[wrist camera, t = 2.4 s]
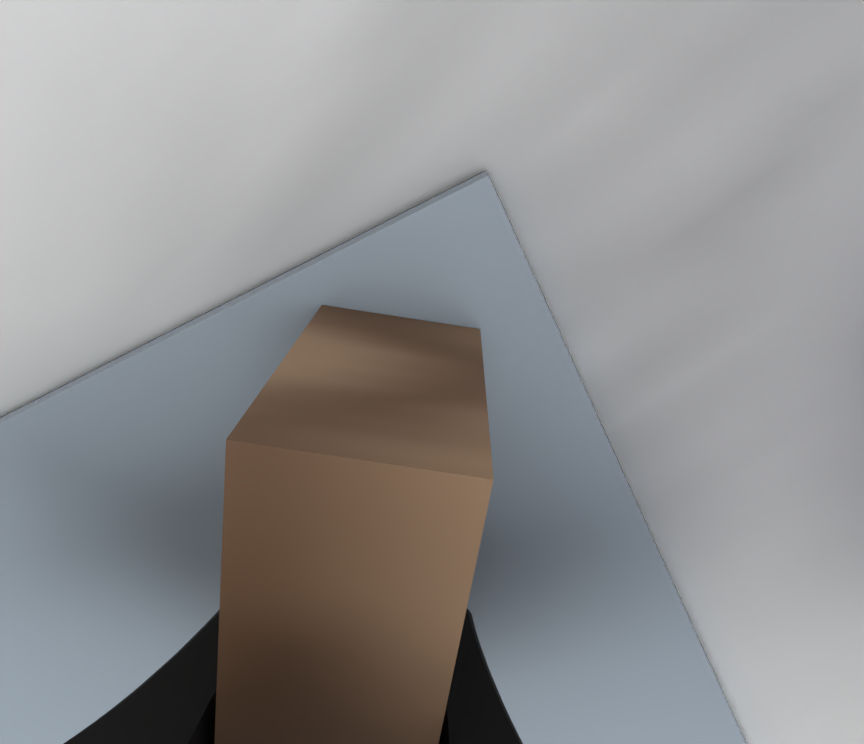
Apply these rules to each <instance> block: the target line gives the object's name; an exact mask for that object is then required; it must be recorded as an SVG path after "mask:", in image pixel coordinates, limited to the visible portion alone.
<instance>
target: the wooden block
mask: <svg viewBox="0 0 864 744" xmlns="http://www.w3.org/2000/svg"><path fill="white" fill-rule="evenodd" d="M493 480H494V478H493V467H492V456H491V444H490V433H489V422H488V410H487V399H486V388H485V377H484V365H483V354H482V343H481V331H480V329H476V328H470V327H463V326H456V325H450V324H443V323H437V322H430V321H424V320H417V319H411V318H404V317H398V316H391V315H385V314H378V313H372V312H365V311H359V310H352V309H346V308H339V307H333V306H326V305H321V307H320V308H319V309H318V311H317V312H316V314H315V315H314V317H313V318H312V319H311V321H310V322H309V324H308V325H307V326H306V328H305V329H304V331H303V332H302V333H301V335H300V336H299V338H298V339H297V340H296V342H295V343H294V345H293V346H292V347H291V349H290V350H289V352H288V353H287V355H286V356H285V357H284V359H283V360H282V362H281V363H280V364H279V366H278V367H277V369H276V370H275V371H274V373H273V374H272V376H271V377H270V378H269V380H268V381H267V383H266V384H265V385H264V387H263V388H262V390H261V391H260V393H259V394H258V395H257V397H256V398H255V400H254V401H253V402H252V404H251V405H250V407H249V408H248V409H247V411H246V412H245V414H244V415H243V416H242V418H241V419H240V421H239V422H238V423H237V425H236V426H235V428H234V429H233V430H232V432H231V433H230V435H229V436H228V438H227V439H226V452H225V479H224V505H223V531H222V557H221V583H220V610H219V636H218V662H217V688H216V714H215V740H214V744H439V739H440V734H441V729H442V724H443V720H444V715H445V710H446V705H447V701H448V696H449V691H450V686H451V681H452V677H453V672H454V667H455V662H456V657H457V653H458V648H459V643H460V638H461V634H462V629H463V624H464V619H465V614H466V610H467V605H468V600H469V595H470V590H471V586H472V581H473V576H474V571H475V567H476V562H477V557H478V552H479V547H480V543H481V538H482V533H483V528H484V524H485V519H486V514H487V509H488V504H489V500H490V495H491V490H492V485H493Z"/></svg>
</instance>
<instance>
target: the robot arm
mask: <svg viewBox="0 0 864 744" xmlns="http://www.w3.org/2000/svg"><path fill="white" fill-rule="evenodd" d="M219 610H220V609H219ZM219 610H218V612H217V613H216V614H215V615H214V616H213V617H212V618H211V619H210V620H209V621H208V622H207V623H206V624H205V625H204V626H203V627H202V628H201V629H200V630H199V631H198V632H197V633H196V634H195V635H194V636H193V637H192V638H191V639H190V640H189V641H188V642H187V643H186V644H185V645H184V646H183V647H182V648H181V649H180V650H179V651H178V652H177V653H176V654H175V655H174V656H173V657H172V658H170V659H169V660H168V661H167V662H166V663H165V664H164V665H163V666H162V667H160V668H159V669H158V670H157V671H156V672H155V673H154V674H153V675H152V676H150V677H149V678H148V679H147V680H146V681H145V682H144V683H143V684H141V685H140V686H139V687H138V688H137V689H135V690H134V691H133V692H132V693H131V694H129V695H128V696H127V697H126V698H124V699H123V700H122V701H121V702H119V703H118V704H117V705H116V706H114V707H113V708H112V709H111V710H109V711H108V712H107V713H105V714H104V715H103V716H101V717H100V718H99V719H97V720H96V721H95V722H93V723H92V724H91V725H89V726H88V727H86V728H85V729H84V730H82V731H81V732H79V733H78V734H76V735H75V736H74V737H72V738H71V739H69V740H68V741H67V742H65V743H64V744H214V740H215V714H216V688H217V662H218V636H219ZM439 744H523V743H522V741H521V739H520V737H519V735H518V733H517V731H516V729H515V727H514V725H513V723H512V721H511V719H510V716H509V714H508V712H507V710H506V708H505V706H504V703H503V701H502V699H501V696H500V694H499V692H498V689H497V687H496V685H495V682H494V680H493V678H492V675H491V673H490V670H489V667H488V665H487V662H486V659H485V656H484V654H483V651H482V648H481V645H480V642H479V639H478V636H477V632H476V629H475V625H474V622H473V617H472V614H471V612H470V611H469V610H468V608H467V610H466V614H465V619H464V624H463V629H462V634H461V638H460V643H459V648H458V653H457V657H456V662H455V667H454V672H453V677H452V681H451V686H450V691H449V696H448V701H447V705H446V710H445V715H444V720H443V724H442V729H441V734H440V739H439Z"/></svg>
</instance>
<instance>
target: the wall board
mask: <svg viewBox="0 0 864 744" xmlns="http://www.w3.org/2000/svg"><path fill="white" fill-rule="evenodd" d="M321 305H326V306H333V307H339V308H346V309H352V310H359V311H365V312H372V313H378V314H385V315H391V316H398V317H404V318H411V319H417V320H424V321H430V322H437V323H443V324H450V325H456V326H463V327H470V328H476V329H480V331H481V343H482V354H483V365H484V377H485V388H486V399H487V410H488V422H489V433H490V444H491V456H492V467H493V478H494V480H493V485H492V490H491V495H490V500H489V504H488V509H487V514H486V519H485V524H484V528H483V533H482V538H481V543H480V547H479V552H478V557H477V562H476V567H475V571H474V576H473V581H472V586H471V590H470V595H469V600H468V605H467V608H468V610H469V611H470V612H471V614H472V617H473V622H474V625H475V629H476V632H477V636H478V639H479V642H480V645H481V648H482V651H483V654H484V656H485V659H486V662H487V665H488V667H489V670H490V673H491V675H492V678H493V680H494V682H495V685H496V687H497V689H498V692H499V694H500V696H501V699H502V701H503V703H504V706H505V708H506V710H507V712H508V714H509V716H510V719H511V721H512V723H513V725H514V727H515V729H516V731H517V733H518V735H519V737H520V739H521V741H522V743H523V744H746V742H745V740H744V738H743V736H742V734H741V731H740V729H739V727H738V725H737V723H736V720H735V718H734V716H733V714H732V712H731V709H730V707H729V705H728V703H727V701H726V698H725V696H724V694H723V692H722V690H721V687H720V685H719V683H718V681H717V678H716V676H715V674H714V672H713V670H712V667H711V665H710V663H709V661H708V659H707V656H706V654H705V652H704V650H703V648H702V645H701V643H700V641H699V639H698V637H697V634H696V632H695V630H694V628H693V626H692V623H691V621H690V619H689V617H688V614H687V612H686V610H685V608H684V606H683V603H682V601H681V599H680V597H679V595H678V592H677V590H676V588H675V586H674V584H673V581H672V579H671V577H670V575H669V573H668V570H667V568H666V566H665V564H664V561H663V559H662V557H661V555H660V553H659V550H658V548H657V546H656V544H655V542H654V539H653V537H652V535H651V533H650V531H649V528H648V526H647V524H646V522H645V520H644V517H643V515H642V513H641V511H640V509H639V506H638V504H637V502H636V500H635V497H634V495H633V493H632V491H631V489H630V486H629V484H628V482H627V480H626V478H625V475H624V473H623V471H622V469H621V467H620V464H619V462H618V460H617V458H616V456H615V453H614V451H613V449H612V447H611V445H610V442H609V440H608V438H607V436H606V433H605V431H604V429H603V427H602V425H601V422H600V420H599V418H598V416H597V414H596V411H595V409H594V407H593V405H592V403H591V400H590V398H589V396H588V394H587V392H586V389H585V387H584V385H583V383H582V380H581V378H580V376H579V374H578V372H577V369H576V367H575V365H574V363H573V361H572V358H571V356H570V354H569V352H568V350H567V347H566V345H565V343H564V341H563V339H562V336H561V334H560V332H559V330H558V328H557V325H556V323H555V321H554V319H553V316H552V314H551V312H550V310H549V308H548V305H547V303H546V301H545V299H544V297H543V294H542V292H541V290H540V288H539V286H538V283H537V281H536V279H535V277H534V275H533V272H532V270H531V268H530V266H529V264H528V261H527V259H526V257H525V255H524V252H523V250H522V248H521V246H520V244H519V241H518V239H517V237H516V235H515V233H514V230H513V228H512V226H511V224H510V222H509V219H508V217H507V215H506V213H505V211H504V208H503V206H502V204H501V202H500V199H499V197H498V195H497V193H496V191H495V188H494V186H493V184H492V182H491V180H490V177H489V175H488V173H487V171H484V172H482V173H480V174H478V175H476V176H474V177H472V178H471V179H469V180H467V181H465V182H463V183H461V184H459V185H457V186H455V187H453V188H451V189H449V190H447V191H445V192H443V193H441V194H439V195H437V196H435V197H433V198H431V199H429V200H427V201H425V202H423V203H421V204H419V205H417V206H416V207H414V208H412V209H410V210H408V211H406V212H404V213H402V214H400V215H398V216H396V217H394V218H392V219H390V220H388V221H386V222H384V223H382V224H380V225H378V226H376V227H374V228H372V229H370V230H368V231H366V232H364V233H362V234H361V235H359V236H357V237H355V238H353V239H351V240H349V241H347V242H345V243H343V244H341V245H339V246H337V247H335V248H333V249H331V250H329V251H327V252H325V253H323V254H321V255H319V256H317V257H315V258H313V259H311V260H309V261H307V262H306V263H304V264H302V265H300V266H298V267H296V268H294V269H292V270H290V271H288V272H286V273H284V274H282V275H280V276H278V277H276V278H274V279H272V280H270V281H268V282H266V283H264V284H262V285H260V286H258V287H256V288H254V289H252V290H251V291H249V292H247V293H245V294H243V295H241V296H239V297H237V298H235V299H233V300H231V301H229V302H227V303H225V304H223V305H221V306H219V307H217V308H215V309H213V310H211V311H209V312H207V313H205V314H203V315H201V316H199V317H197V318H196V319H194V320H192V321H190V322H188V323H186V324H184V325H182V326H180V327H178V328H176V329H174V330H172V331H170V332H168V333H166V334H164V335H162V336H160V337H158V338H156V339H154V340H152V341H150V342H148V343H146V344H144V345H143V346H141V347H139V348H137V349H135V350H133V351H131V352H129V353H127V354H125V355H123V356H121V357H119V358H117V359H115V360H113V361H111V362H109V363H107V364H105V365H103V366H101V367H99V368H97V369H95V370H93V371H91V372H89V373H88V374H86V375H84V376H82V377H80V378H78V379H76V380H74V381H72V382H70V383H68V384H66V385H64V386H62V387H60V388H58V389H56V390H54V391H52V392H50V393H48V394H46V395H44V396H42V397H40V398H38V399H36V400H34V401H33V402H31V403H29V404H27V405H25V406H23V407H21V408H19V409H17V410H15V411H13V412H11V413H9V414H7V415H5V416H3V417H1V418H0V744H64V743H65V742H67V741H68V740H69V739H71V738H72V737H74V736H75V735H76V734H78V733H79V732H81V731H82V730H84V729H85V728H86V727H88V726H89V725H91V724H92V723H93V722H95V721H96V720H97V719H99V718H100V717H101V716H103V715H104V714H105V713H107V712H108V711H109V710H111V709H112V708H113V707H114V706H116V705H117V704H118V703H119V702H121V701H122V700H123V699H124V698H126V697H127V696H128V695H129V694H131V693H132V692H133V691H134V690H135V689H137V688H138V687H139V686H140V685H141V684H143V683H144V682H145V681H146V680H147V679H148V678H149V677H150V676H152V675H153V674H154V673H155V672H156V671H157V670H158V669H159V668H160V667H162V666H163V665H164V664H165V663H166V662H167V661H168V660H169V659H170V658H172V657H173V656H174V655H175V654H176V653H177V652H178V651H179V650H180V649H181V648H182V647H183V646H184V645H185V644H186V643H187V642H188V641H189V640H190V639H191V638H192V637H193V636H194V635H195V634H196V633H197V632H198V631H199V630H200V629H201V628H202V627H203V626H204V625H205V624H206V623H207V622H208V621H209V620H210V619H211V618H212V617H213V616H214V615H215V614H216V613H217V612H218V610H219V609H220V583H221V557H222V531H223V505H224V479H225V452H226V439H227V438H228V436H229V435H230V433H231V432H232V430H233V429H234V428H235V426H236V425H237V423H238V422H239V421H240V419H241V418H242V416H243V415H244V414H245V412H246V411H247V409H248V408H249V407H250V405H251V404H252V402H253V401H254V400H255V398H256V397H257V395H258V394H259V393H260V391H261V390H262V388H263V387H264V385H265V384H266V383H267V381H268V380H269V378H270V377H271V376H272V374H273V373H274V371H275V370H276V369H277V367H278V366H279V364H280V363H281V362H282V360H283V359H284V357H285V356H286V355H287V353H288V352H289V350H290V349H291V347H292V346H293V345H294V343H295V342H296V340H297V339H298V338H299V336H300V335H301V333H302V332H303V331H304V329H305V328H306V326H307V325H308V324H309V322H310V321H311V319H312V318H313V317H314V315H315V314H316V312H317V311H318V309H319V308H320V307H321Z"/></svg>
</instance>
